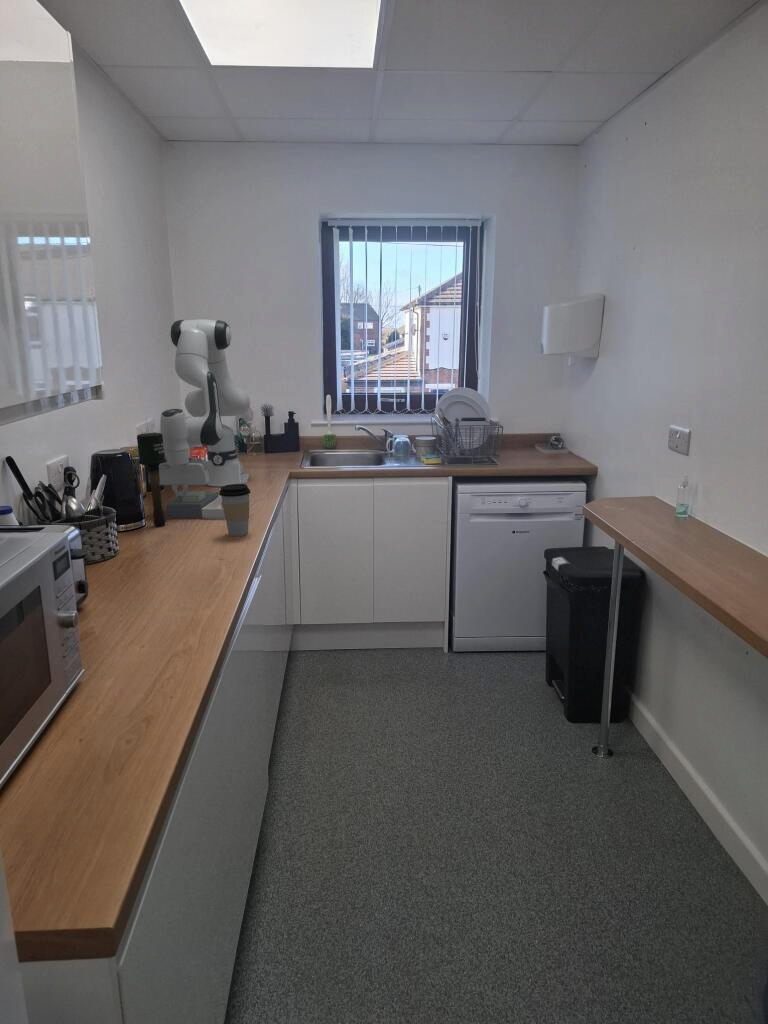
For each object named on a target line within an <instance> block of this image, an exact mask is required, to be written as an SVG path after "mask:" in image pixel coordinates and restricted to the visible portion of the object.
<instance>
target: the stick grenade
mask: <svg viewBox="0 0 768 1024" xmlns="http://www.w3.org/2000/svg"><path fill="white" fill-rule="evenodd" d="M136 441H137V450H138V465H145V466H146V467H147V470H148V481H149V480H150V482H149V483H150V487H151V496H152V497H151V498H152V499H151V500H152V505H153V511H152V515H153V525H154V526H155V527H158V528H159V527H160V528H161V527H164V526H165V525H166V519H165V518H166V517H165V512H164V509H163V502H162V495H161V485H160V476H159V464H161V463H165V462H167V460H166V459H165V453H164V444H163V435H162V434H161V432H145V433H140V434H137V435H136Z"/></svg>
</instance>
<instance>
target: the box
mask: <svg viewBox="0 0 768 1024" xmlns="http://www.w3.org/2000/svg"><path fill="white" fill-rule="evenodd" d="M218 496H219V497H218V498H216V499H215V500H213V501H212V502H211V503H209V504H208V505H206V506H205V507H204V508H202V518H201V519H202V520H225V515H224V510H223V508H221V502H222V497H221V496H220V495H218Z"/></svg>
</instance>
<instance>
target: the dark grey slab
mask: <svg viewBox="0 0 768 1024" xmlns="http://www.w3.org/2000/svg"><path fill="white" fill-rule="evenodd" d="M205 496H206V498H205V499H204V500H202V501H201V502H182V498H174V499H172V500H171V501H169V502H167V503H166V504H165V505H166V513H167V519H202V508H204V507H205V506H206V505H208V504H209V503H211V502H212V501H213V500H215V499H216V498H218V497H219V496H220V495H219V491H205Z"/></svg>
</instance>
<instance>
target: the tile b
mask: <svg viewBox="0 0 768 1024" xmlns="http://www.w3.org/2000/svg"><path fill="white" fill-rule="evenodd" d="M205 492H206V491H205V490H204V491H203V490H202V491H201V490H196V491H194V490H187V491H186V493H185V494H183V495H182V502H201V501H202V500H204V499H205V498H206V496H205Z"/></svg>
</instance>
